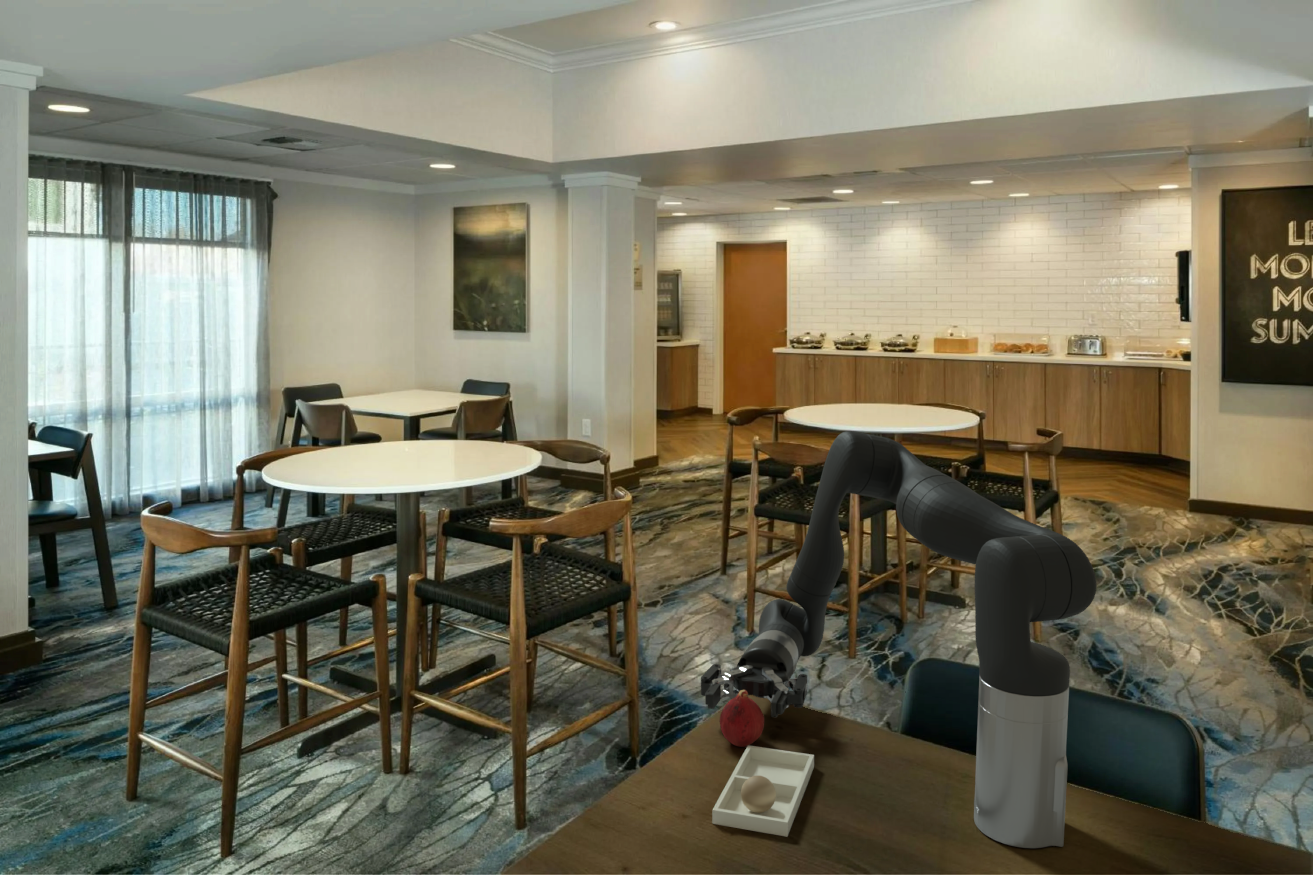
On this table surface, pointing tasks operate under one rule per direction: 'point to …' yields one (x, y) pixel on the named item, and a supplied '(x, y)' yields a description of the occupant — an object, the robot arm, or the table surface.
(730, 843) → the table surface
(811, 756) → the white divided tray
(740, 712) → the onion
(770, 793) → the beige wooden ball
